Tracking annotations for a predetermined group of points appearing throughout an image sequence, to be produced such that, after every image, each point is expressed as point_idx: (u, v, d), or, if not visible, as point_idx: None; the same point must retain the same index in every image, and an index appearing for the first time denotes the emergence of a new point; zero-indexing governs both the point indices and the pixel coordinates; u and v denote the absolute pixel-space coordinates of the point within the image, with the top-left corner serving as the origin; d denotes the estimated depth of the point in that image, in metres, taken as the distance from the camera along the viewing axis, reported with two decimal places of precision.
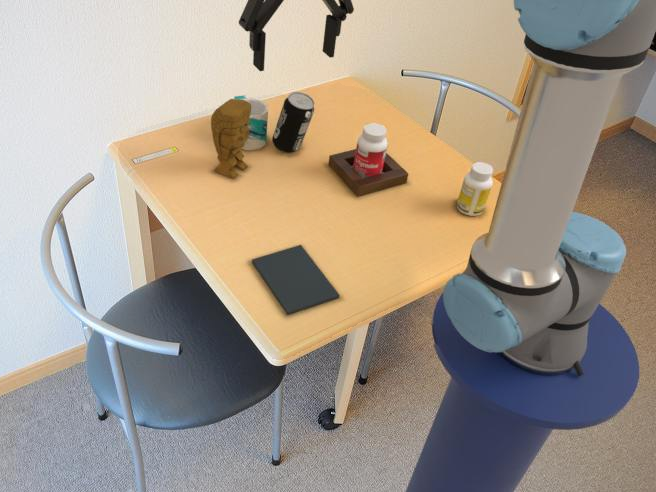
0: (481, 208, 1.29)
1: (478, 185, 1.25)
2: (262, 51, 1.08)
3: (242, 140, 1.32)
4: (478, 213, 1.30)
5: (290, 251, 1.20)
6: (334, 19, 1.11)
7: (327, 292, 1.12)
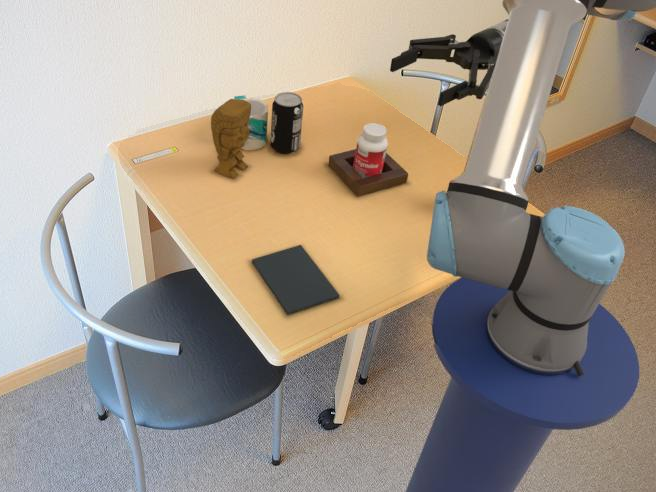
0: None
1: None
2: (405, 53, 1.31)
3: (242, 140, 1.32)
4: None
5: (290, 251, 1.20)
6: None
7: (327, 292, 1.12)
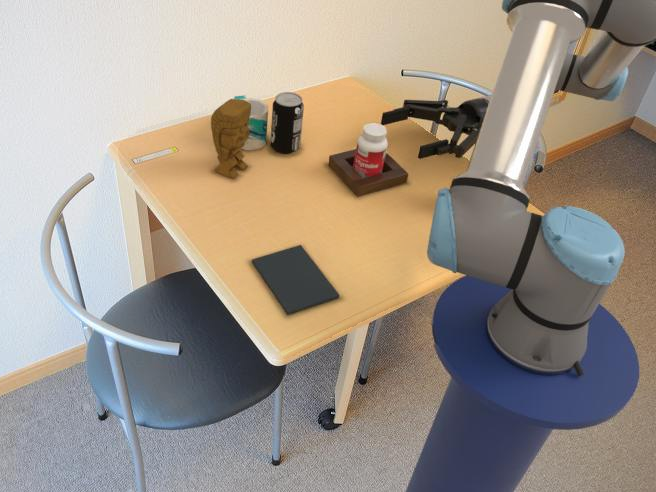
0: None
1: None
2: (396, 110, 1.41)
3: (242, 140, 1.32)
4: None
5: (290, 251, 1.20)
6: None
7: (327, 292, 1.12)
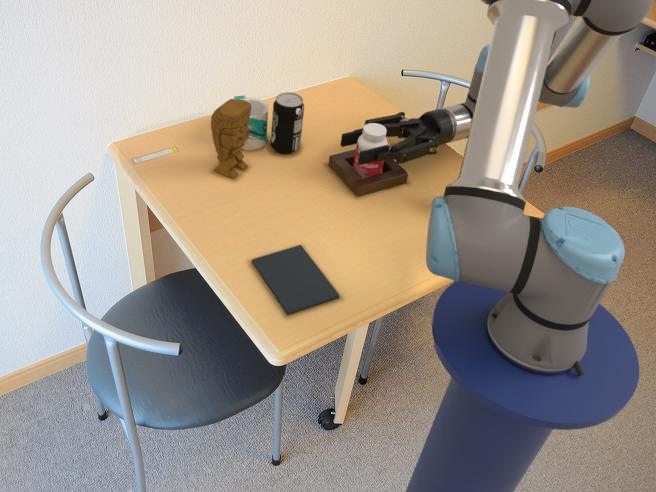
0: None
1: None
2: (356, 131, 1.35)
3: (242, 140, 1.32)
4: None
5: (290, 251, 1.20)
6: None
7: (327, 292, 1.12)
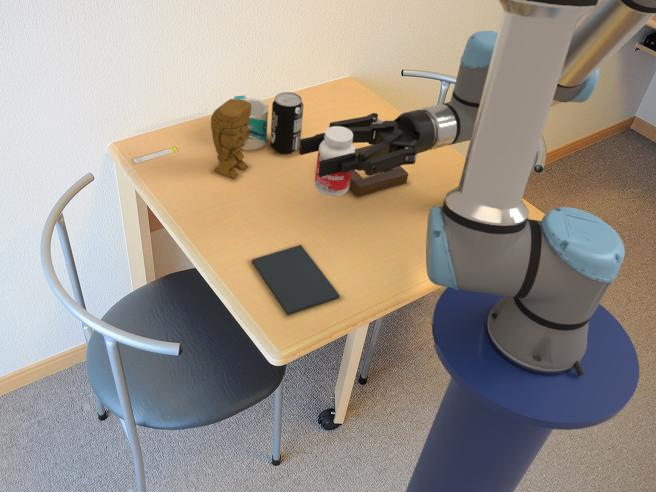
0: None
1: None
2: (318, 136, 1.12)
3: (242, 140, 1.32)
4: None
5: (290, 251, 1.20)
6: None
7: (327, 292, 1.12)
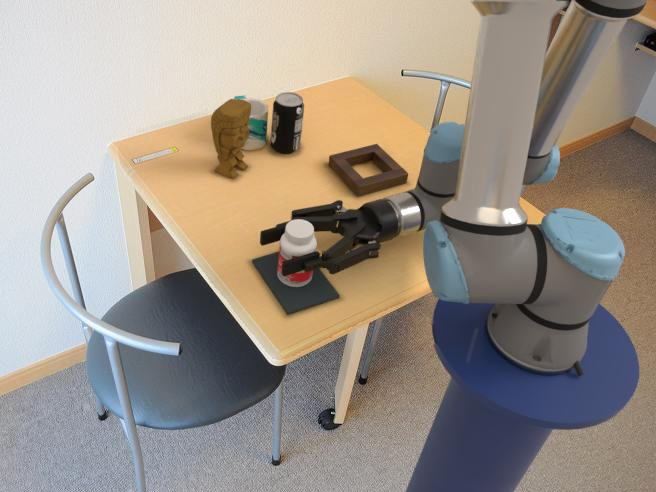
0: None
1: None
2: (279, 226, 1.11)
3: (242, 140, 1.32)
4: None
5: None
6: None
7: (327, 292, 1.12)
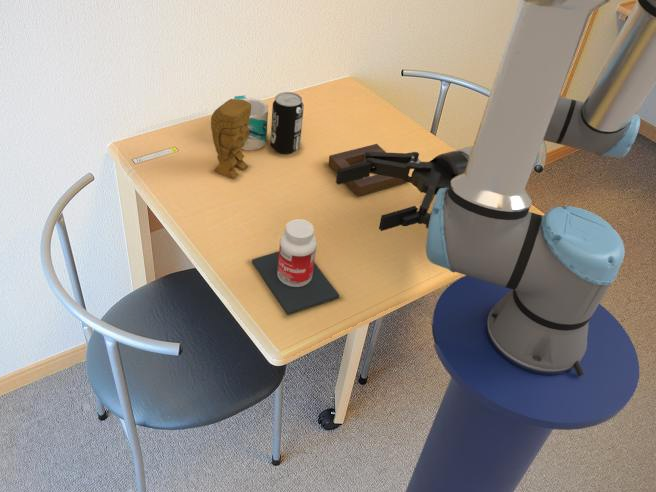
0: None
1: None
2: (355, 166, 1.14)
3: (242, 140, 1.32)
4: None
5: None
6: None
7: (327, 292, 1.12)
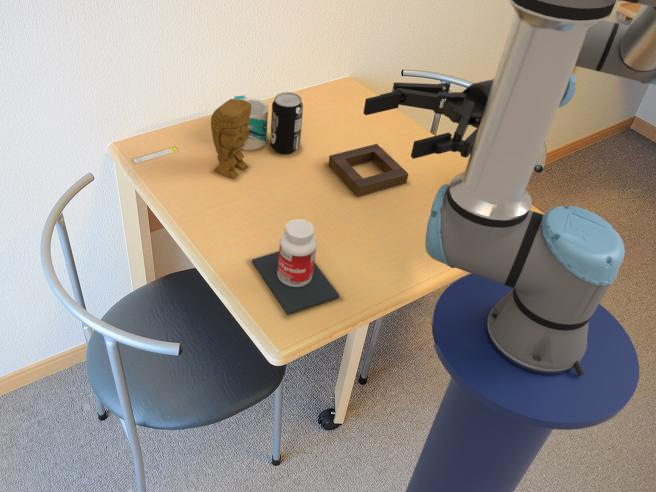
0: None
1: None
2: (383, 95, 1.09)
3: (242, 140, 1.32)
4: None
5: None
6: None
7: (327, 292, 1.12)
